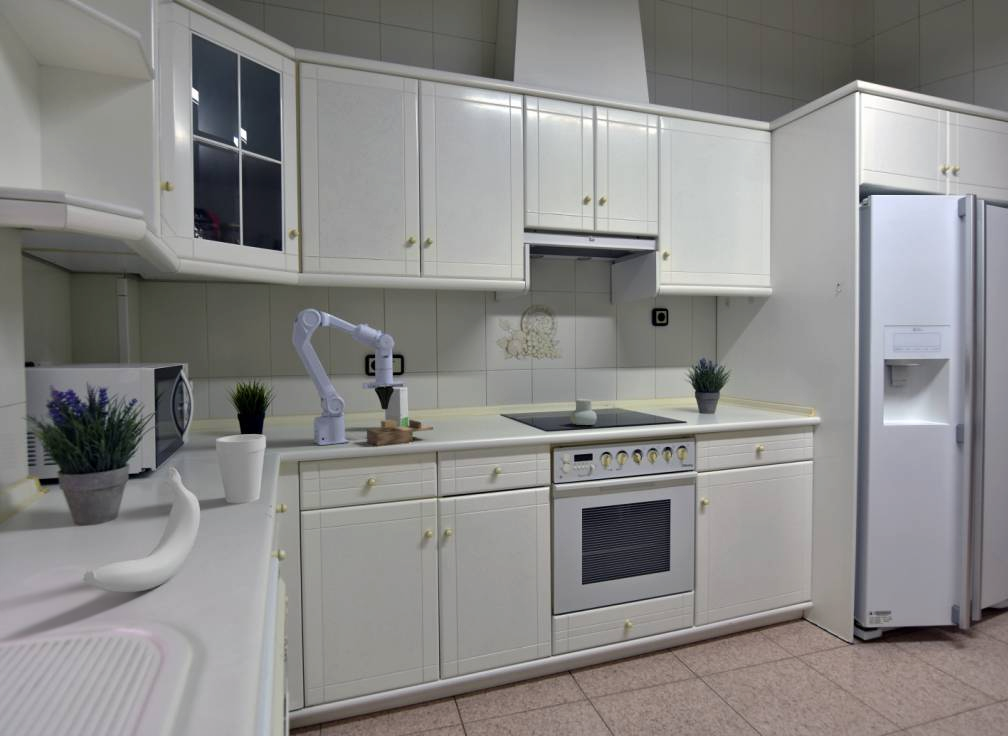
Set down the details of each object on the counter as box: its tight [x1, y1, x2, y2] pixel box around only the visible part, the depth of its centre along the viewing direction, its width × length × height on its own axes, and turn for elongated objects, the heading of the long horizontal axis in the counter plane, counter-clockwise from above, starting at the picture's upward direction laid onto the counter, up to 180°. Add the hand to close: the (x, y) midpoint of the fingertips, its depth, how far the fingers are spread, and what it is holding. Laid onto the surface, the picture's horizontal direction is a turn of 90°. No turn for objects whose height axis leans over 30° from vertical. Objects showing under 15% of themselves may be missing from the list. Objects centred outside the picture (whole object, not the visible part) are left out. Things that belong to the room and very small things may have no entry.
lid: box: [393, 419, 434, 433], centre depth 188 cm, size 11×8×3 cm
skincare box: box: [384, 386, 409, 427], centre depth 211 cm, size 8×7×16 cm
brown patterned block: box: [380, 419, 396, 428], centre depth 194 cm, size 4×4×6 cm
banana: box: [82, 466, 201, 593], centre depth 77 cm, size 5×19×15 cm, turn 178°
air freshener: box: [570, 398, 598, 426], centre depth 216 cm, size 11×8×10 cm
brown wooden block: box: [366, 426, 414, 447], centre depth 183 cm, size 12×9×4 cm
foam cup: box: [215, 433, 267, 504], centre depth 118 cm, size 10×9×13 cm
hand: (384, 409), depth 191 cm, fingers closed
